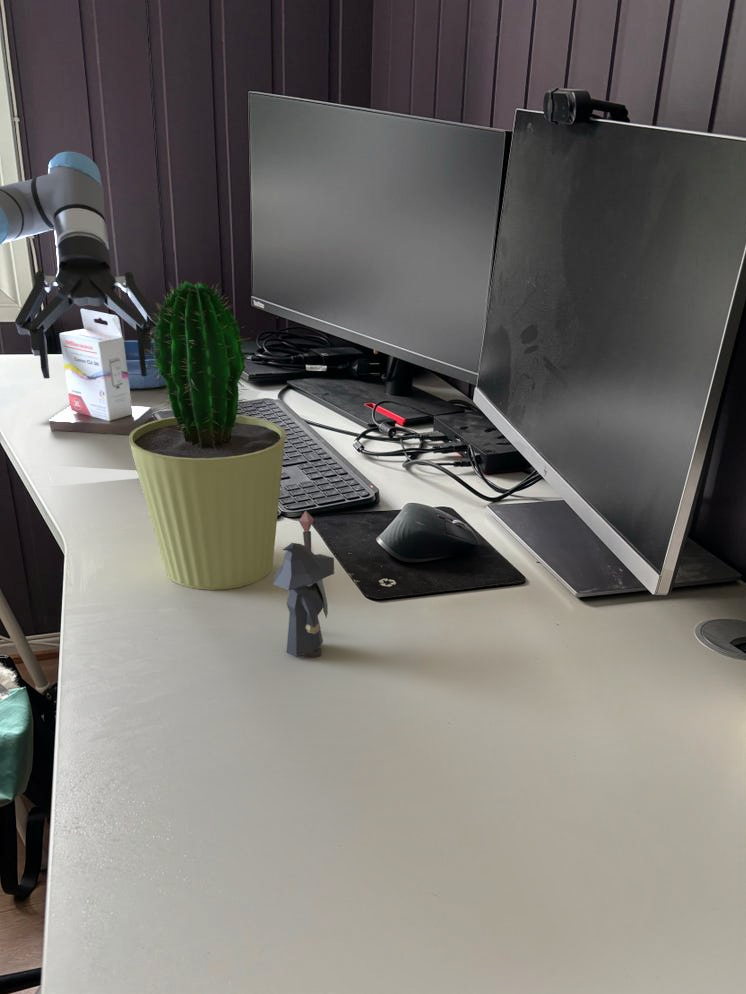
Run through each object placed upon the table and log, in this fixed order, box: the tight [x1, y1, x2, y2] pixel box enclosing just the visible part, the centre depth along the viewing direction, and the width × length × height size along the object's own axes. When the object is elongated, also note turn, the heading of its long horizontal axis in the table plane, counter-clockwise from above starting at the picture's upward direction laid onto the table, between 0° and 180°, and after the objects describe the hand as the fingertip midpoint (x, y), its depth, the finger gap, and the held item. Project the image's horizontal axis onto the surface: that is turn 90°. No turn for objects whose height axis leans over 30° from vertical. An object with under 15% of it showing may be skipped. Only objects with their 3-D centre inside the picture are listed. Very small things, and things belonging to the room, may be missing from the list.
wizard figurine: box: [273, 510, 335, 658], centre depth 87 cm, size 8×6×12 cm
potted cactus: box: [128, 279, 287, 591], centre depth 97 cm, size 15×15×30 cm
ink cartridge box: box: [58, 308, 133, 421], centre depth 142 cm, size 9×5×15 cm, turn 62°
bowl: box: [124, 340, 166, 390], centre depth 169 cm, size 16×16×5 cm
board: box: [48, 405, 154, 436], centre depth 146 cm, size 12×10×2 cm
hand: (95, 372), depth 141 cm, fingers open, 13 cm apart
